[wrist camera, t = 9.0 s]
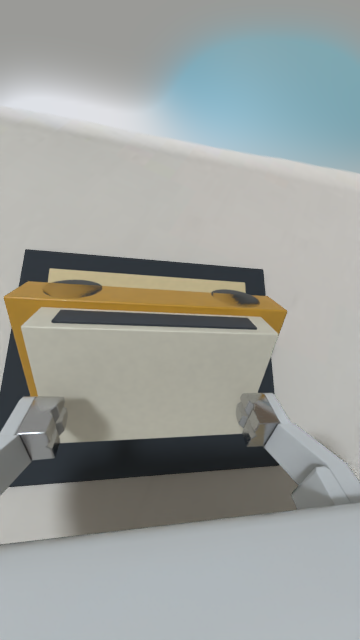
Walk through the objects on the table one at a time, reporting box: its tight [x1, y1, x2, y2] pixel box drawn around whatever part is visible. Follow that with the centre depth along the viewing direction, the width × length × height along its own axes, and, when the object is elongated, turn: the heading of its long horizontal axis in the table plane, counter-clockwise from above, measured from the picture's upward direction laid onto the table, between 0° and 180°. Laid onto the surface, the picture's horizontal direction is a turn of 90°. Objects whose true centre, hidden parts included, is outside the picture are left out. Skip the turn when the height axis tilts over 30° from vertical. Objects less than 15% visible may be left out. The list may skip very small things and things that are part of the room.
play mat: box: [0, 249, 280, 487], centre depth 18 cm, size 21×17×1 cm
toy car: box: [4, 280, 287, 443], centre depth 13 cm, size 14×5×8 cm
